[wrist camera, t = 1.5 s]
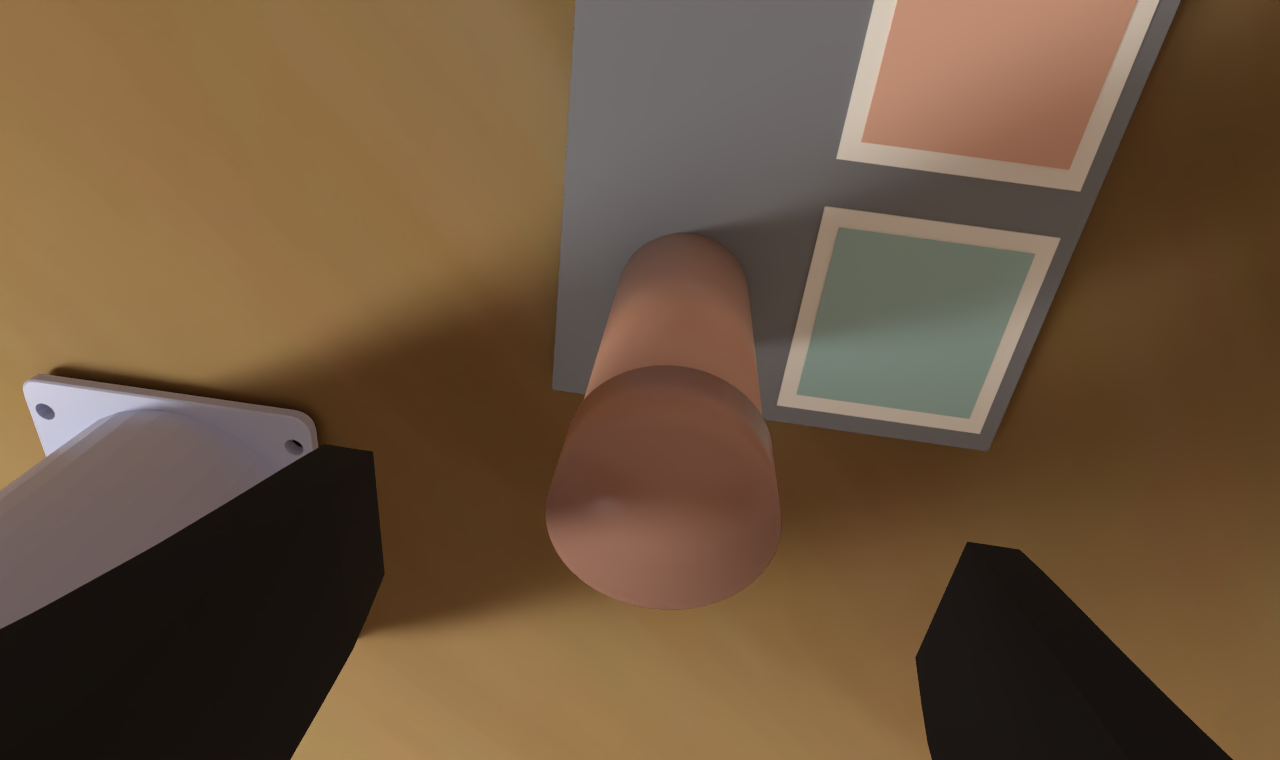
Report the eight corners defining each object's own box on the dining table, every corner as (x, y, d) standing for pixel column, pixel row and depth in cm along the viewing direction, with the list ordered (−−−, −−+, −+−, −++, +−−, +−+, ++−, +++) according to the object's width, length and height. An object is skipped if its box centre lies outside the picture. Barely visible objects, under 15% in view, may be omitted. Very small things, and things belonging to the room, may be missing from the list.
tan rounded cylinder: (739, 366, 18) (756, 624, 11) (607, 347, 18) (539, 591, 11) (765, 239, 16) (805, 445, 9) (621, 219, 16) (551, 408, 9)
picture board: (980, 438, 19) (989, 453, 18) (556, 378, 19) (551, 391, 18) (1215, -127, 13) (1241, -132, 12) (593, -206, 13) (588, -213, 12)
